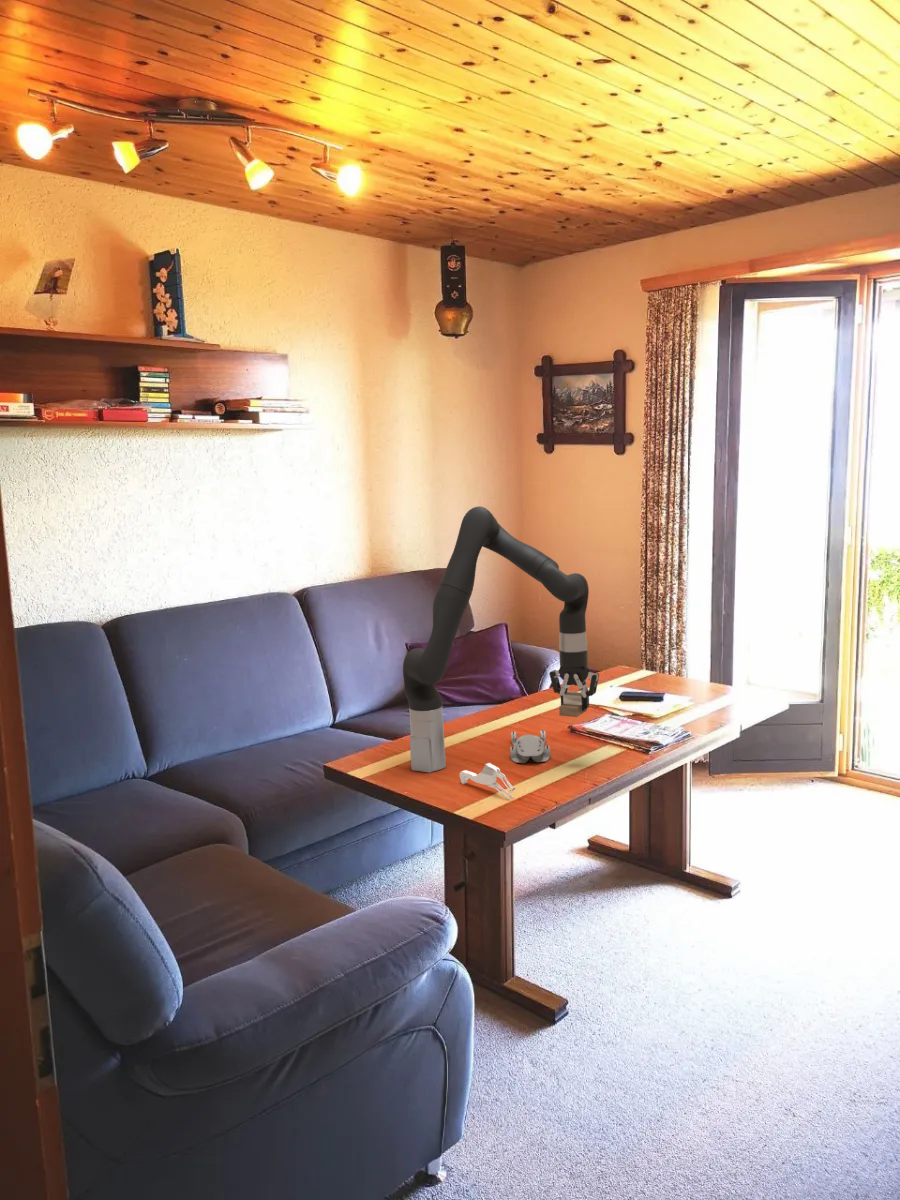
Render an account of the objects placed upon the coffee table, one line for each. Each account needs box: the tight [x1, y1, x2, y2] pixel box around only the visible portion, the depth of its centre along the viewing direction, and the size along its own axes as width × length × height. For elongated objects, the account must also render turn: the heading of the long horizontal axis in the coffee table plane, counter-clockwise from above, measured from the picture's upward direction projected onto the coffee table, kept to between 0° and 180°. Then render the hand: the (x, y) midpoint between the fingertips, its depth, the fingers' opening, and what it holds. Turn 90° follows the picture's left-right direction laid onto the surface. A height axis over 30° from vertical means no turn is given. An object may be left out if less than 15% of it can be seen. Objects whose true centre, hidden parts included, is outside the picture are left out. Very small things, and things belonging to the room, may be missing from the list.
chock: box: [558, 690, 588, 718], centre depth 250 cm, size 7×5×5 cm
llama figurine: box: [459, 762, 516, 800], centre depth 236 cm, size 2×11×18 cm
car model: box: [509, 730, 551, 764], centre depth 265 cm, size 11×24×5 cm, turn 177°
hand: (575, 708), depth 251 cm, fingers closed on chock, 5 cm apart
